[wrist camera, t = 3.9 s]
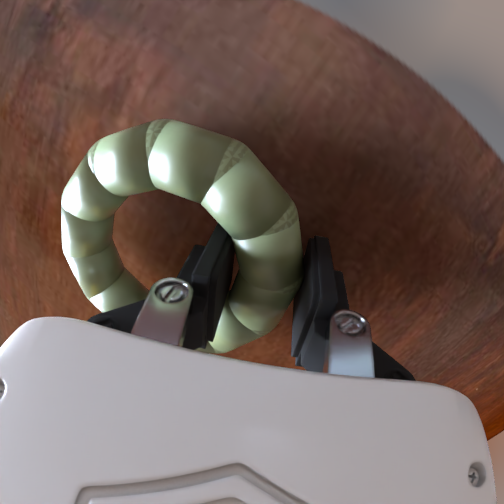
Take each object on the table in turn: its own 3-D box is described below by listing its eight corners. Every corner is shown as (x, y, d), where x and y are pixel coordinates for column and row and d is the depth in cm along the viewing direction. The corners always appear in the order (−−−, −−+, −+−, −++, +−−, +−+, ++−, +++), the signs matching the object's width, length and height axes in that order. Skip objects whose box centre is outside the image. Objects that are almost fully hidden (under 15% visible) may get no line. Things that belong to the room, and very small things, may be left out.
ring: (178, 62, 9) (149, 59, 7) (350, 264, 12) (358, 302, 10) (54, 224, 13) (26, 247, 11) (188, 350, 17) (176, 382, 14)
